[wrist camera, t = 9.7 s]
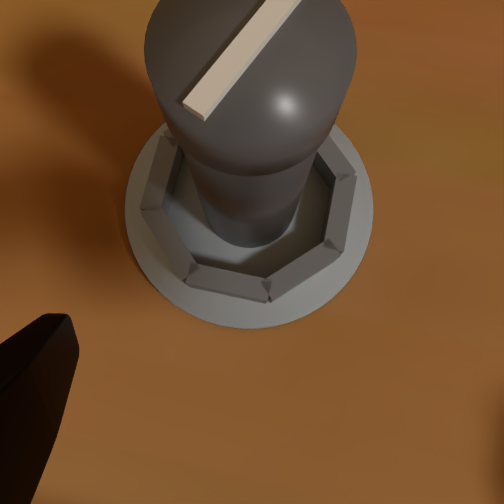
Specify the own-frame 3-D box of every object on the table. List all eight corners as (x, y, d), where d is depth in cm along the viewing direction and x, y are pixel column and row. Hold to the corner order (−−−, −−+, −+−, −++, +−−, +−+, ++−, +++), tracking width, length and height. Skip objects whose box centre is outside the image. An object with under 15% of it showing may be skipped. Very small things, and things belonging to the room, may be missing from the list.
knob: (261, 271, 21) (278, 180, 9) (179, 214, 22) (96, 59, 10) (318, 192, 22) (399, 16, 10) (238, 139, 23) (226, -85, 11)
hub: (348, 354, 21) (359, 355, 19) (98, 298, 22) (81, 293, 19) (386, 122, 24) (400, 100, 22) (163, 77, 24) (154, 51, 22)
